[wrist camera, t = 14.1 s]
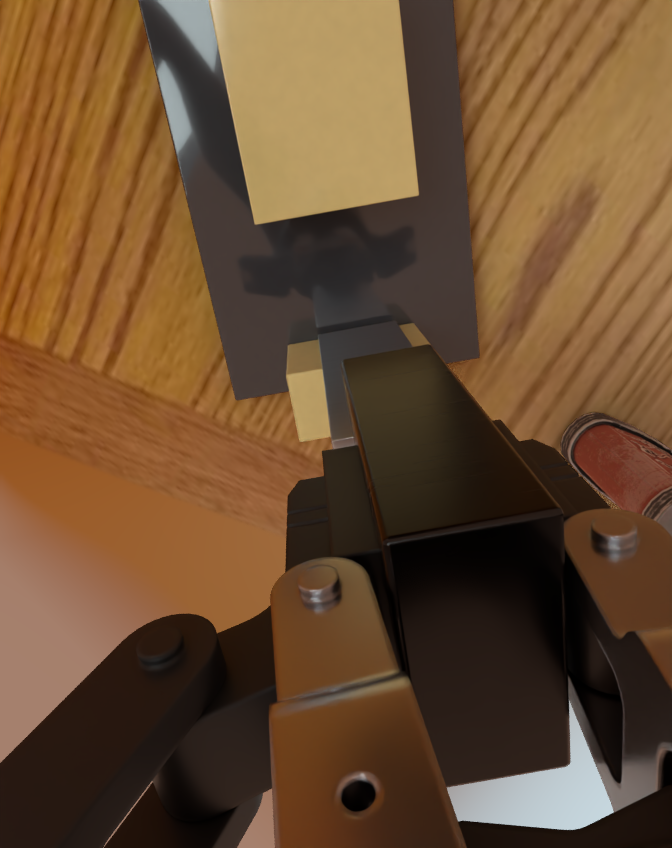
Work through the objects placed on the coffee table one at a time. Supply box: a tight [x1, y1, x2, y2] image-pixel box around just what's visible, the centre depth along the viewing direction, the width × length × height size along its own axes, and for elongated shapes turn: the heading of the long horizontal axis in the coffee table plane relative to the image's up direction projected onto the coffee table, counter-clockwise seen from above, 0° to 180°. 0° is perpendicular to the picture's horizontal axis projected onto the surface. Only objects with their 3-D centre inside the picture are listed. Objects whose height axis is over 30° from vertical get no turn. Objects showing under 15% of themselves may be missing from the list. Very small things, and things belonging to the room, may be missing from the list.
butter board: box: [138, 0, 480, 400], centre depth 20 cm, size 10×16×5 cm, turn 9°
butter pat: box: [286, 323, 431, 442], centre depth 22 cm, size 5×2×4 cm, turn 99°
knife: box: [318, 321, 570, 787], centre depth 15 cm, size 3×4×17 cm
